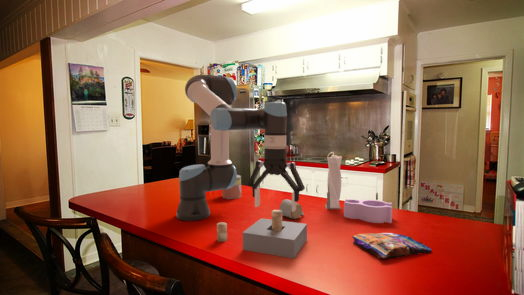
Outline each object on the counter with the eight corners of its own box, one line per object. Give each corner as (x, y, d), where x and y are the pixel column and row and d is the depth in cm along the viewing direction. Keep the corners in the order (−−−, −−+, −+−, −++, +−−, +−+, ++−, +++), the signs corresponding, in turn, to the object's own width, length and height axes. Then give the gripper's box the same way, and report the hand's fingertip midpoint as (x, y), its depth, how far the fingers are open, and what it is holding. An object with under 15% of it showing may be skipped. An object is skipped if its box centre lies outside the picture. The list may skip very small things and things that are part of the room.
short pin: (215, 240, 108) (214, 224, 107) (220, 237, 111) (220, 221, 110) (223, 242, 106) (223, 226, 106) (228, 238, 110) (228, 223, 109)
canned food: (240, 198, 168) (240, 178, 167) (220, 199, 168) (220, 178, 167) (242, 194, 179) (241, 174, 178) (223, 194, 179) (223, 174, 178)
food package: (343, 241, 107) (343, 230, 107) (399, 234, 115) (400, 223, 115) (385, 270, 87) (386, 255, 86) (450, 258, 94) (451, 245, 94)
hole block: (242, 249, 100) (242, 232, 99) (261, 233, 114) (261, 218, 114) (294, 258, 93) (294, 240, 92) (306, 240, 108) (306, 223, 107)
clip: (342, 219, 131) (342, 204, 130) (346, 211, 142) (346, 197, 142) (391, 225, 123) (392, 208, 122) (392, 216, 134) (392, 201, 133)
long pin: (270, 246, 103) (270, 212, 102) (273, 242, 106) (273, 209, 105) (280, 247, 101) (280, 213, 100) (283, 243, 104) (283, 210, 104)
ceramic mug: (291, 221, 128) (292, 203, 128) (279, 216, 135) (279, 200, 134) (308, 216, 135) (308, 200, 135) (295, 212, 141) (295, 196, 141)
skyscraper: (323, 205, 154) (324, 151, 152) (339, 205, 154) (340, 151, 152) (326, 209, 146) (327, 153, 144) (343, 209, 146) (344, 153, 143)
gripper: (237, 147, 102) (238, 207, 104) (308, 150, 93) (307, 215, 95) (247, 145, 109) (247, 201, 111) (313, 147, 100) (313, 209, 102)
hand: (275, 208), depth 103 cm, fingers open, 13 cm apart
